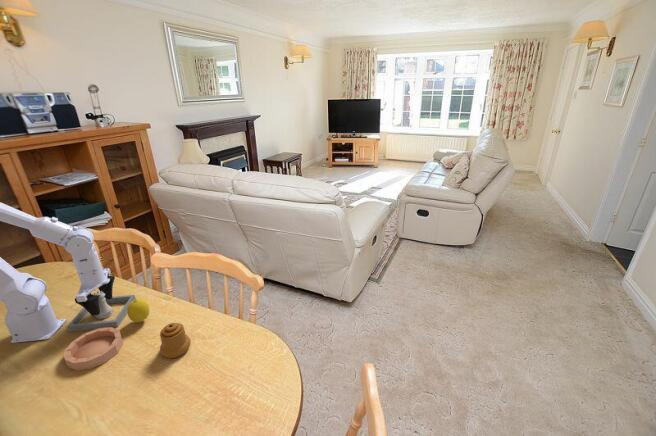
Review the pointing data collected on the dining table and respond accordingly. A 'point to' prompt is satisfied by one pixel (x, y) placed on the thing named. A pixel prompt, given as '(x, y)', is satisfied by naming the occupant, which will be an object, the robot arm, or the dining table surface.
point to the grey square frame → (78, 326)
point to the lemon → (138, 310)
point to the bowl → (93, 348)
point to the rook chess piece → (103, 306)
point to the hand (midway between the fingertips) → (102, 306)
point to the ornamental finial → (174, 340)
